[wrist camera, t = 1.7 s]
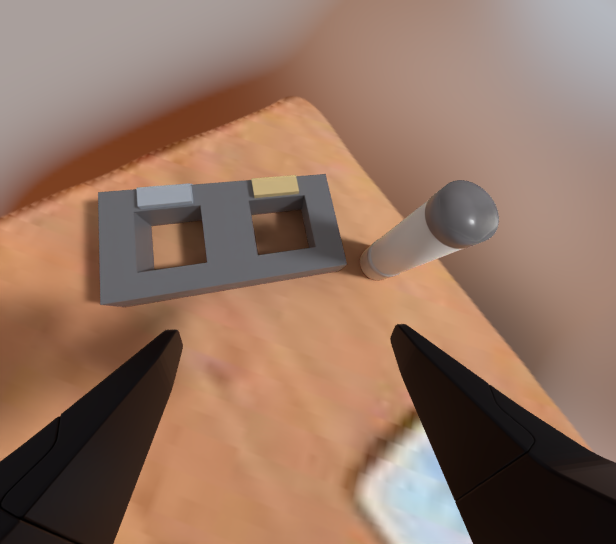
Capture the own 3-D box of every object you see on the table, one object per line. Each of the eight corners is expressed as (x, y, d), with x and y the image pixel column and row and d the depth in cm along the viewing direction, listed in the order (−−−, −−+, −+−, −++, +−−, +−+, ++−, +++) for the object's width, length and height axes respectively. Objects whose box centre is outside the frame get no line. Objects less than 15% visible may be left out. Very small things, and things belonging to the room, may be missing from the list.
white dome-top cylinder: (368, 286, 25) (458, 251, 13) (353, 252, 25) (426, 189, 13) (398, 273, 26) (510, 230, 14) (384, 242, 26) (478, 173, 14)
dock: (124, 307, 21) (95, 304, 17) (120, 206, 23) (93, 186, 19) (338, 271, 25) (348, 263, 21) (319, 188, 27) (325, 168, 23)
